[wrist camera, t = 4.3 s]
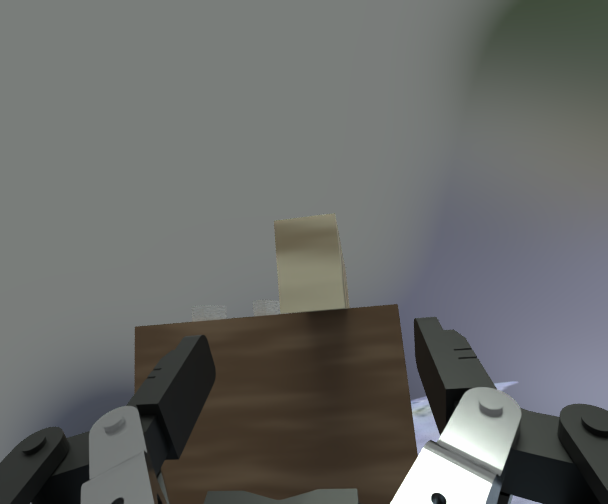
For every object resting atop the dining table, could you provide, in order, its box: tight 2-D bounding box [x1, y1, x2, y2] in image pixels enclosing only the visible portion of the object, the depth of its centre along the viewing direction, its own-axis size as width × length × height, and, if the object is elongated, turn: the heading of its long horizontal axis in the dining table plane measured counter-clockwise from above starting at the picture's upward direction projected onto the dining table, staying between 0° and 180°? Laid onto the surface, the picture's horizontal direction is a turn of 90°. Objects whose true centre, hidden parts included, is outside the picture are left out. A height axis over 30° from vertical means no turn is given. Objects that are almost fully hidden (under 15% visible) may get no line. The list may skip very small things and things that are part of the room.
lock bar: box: [274, 213, 349, 314], centre depth 27 cm, size 23×3×4 cm, turn 172°
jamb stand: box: [135, 304, 418, 504], centre depth 29 cm, size 14×20×32 cm
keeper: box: [192, 300, 280, 322], centre depth 35 cm, size 6×7×2 cm
